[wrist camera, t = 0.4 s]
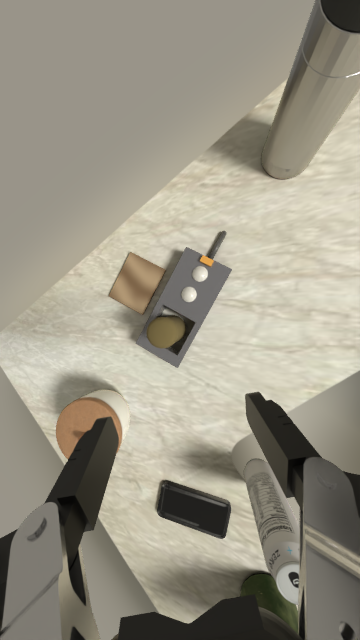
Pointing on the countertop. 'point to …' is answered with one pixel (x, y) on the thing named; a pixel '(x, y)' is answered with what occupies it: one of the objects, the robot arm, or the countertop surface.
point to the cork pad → (137, 283)
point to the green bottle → (271, 598)
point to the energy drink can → (275, 527)
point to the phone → (194, 509)
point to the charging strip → (188, 296)
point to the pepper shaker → (166, 331)
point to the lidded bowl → (91, 417)
